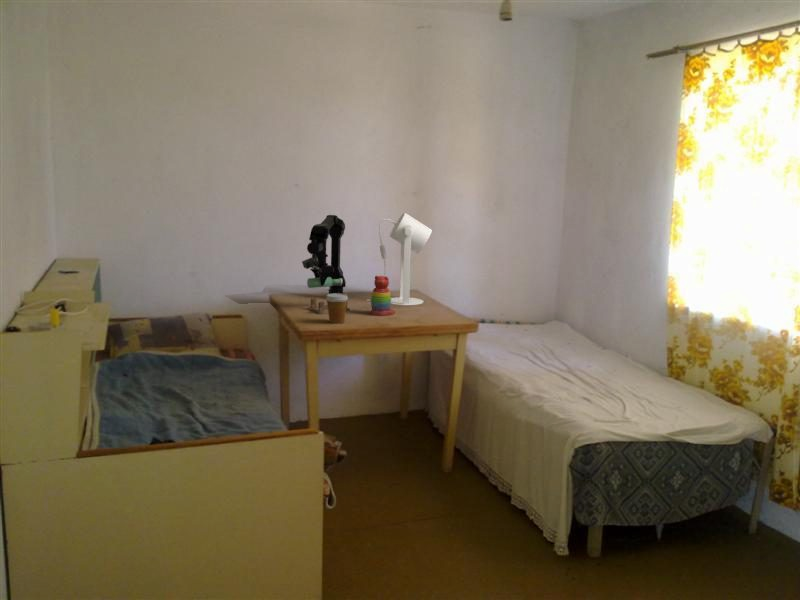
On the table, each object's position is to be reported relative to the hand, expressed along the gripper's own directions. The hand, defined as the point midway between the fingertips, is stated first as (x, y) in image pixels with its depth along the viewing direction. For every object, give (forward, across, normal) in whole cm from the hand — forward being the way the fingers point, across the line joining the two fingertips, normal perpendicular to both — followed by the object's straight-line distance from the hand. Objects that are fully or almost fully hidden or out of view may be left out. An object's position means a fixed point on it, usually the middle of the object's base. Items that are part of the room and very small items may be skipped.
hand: (320, 284), depth 310 cm
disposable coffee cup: (+12, +30, -5) cm, 32 cm away
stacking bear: (+12, +23, +21) cm, 33 cm away
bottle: (+1, 0, +3) cm, 3 cm away
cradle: (+11, +5, +2) cm, 13 cm away
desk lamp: (+11, +2, +42) cm, 44 cm away
